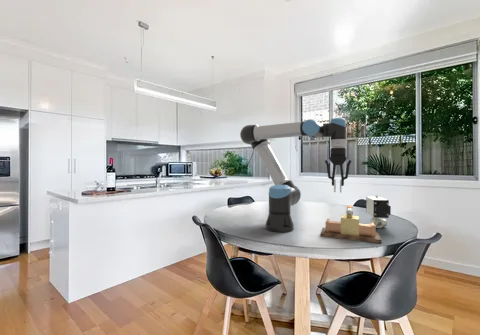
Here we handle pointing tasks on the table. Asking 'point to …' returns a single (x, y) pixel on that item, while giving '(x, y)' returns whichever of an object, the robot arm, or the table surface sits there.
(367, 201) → the ball valve
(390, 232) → the table surface
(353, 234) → the valve body
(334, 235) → the pipe board
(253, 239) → the table surface
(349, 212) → the lever
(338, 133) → the robot arm
